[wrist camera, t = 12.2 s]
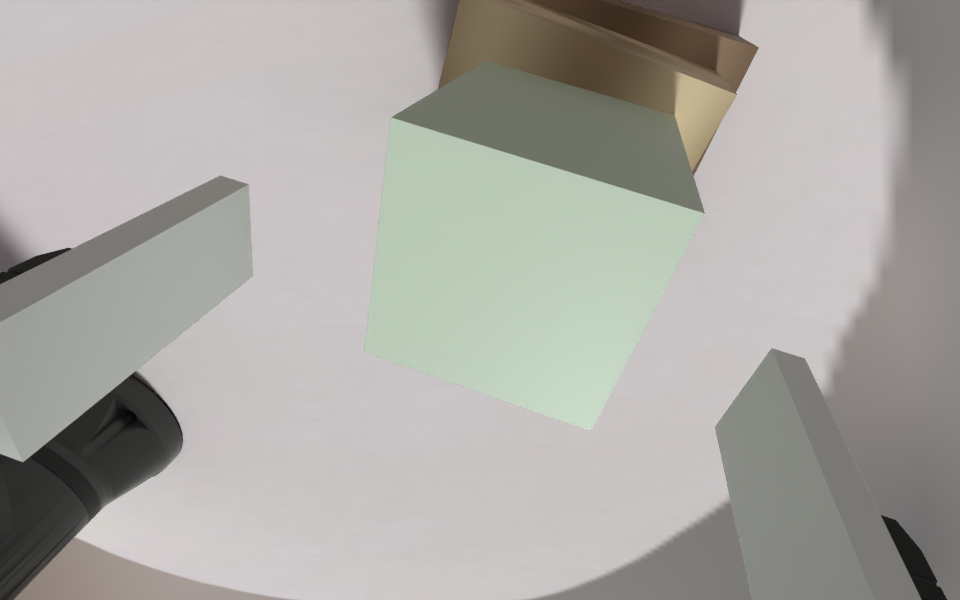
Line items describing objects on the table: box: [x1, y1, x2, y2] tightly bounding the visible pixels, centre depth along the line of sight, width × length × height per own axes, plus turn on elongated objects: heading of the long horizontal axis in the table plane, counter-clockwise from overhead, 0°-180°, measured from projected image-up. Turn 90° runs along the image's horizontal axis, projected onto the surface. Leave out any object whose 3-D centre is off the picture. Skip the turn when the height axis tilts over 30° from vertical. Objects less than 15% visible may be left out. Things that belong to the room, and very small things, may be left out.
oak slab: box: [438, 0, 737, 171], centre depth 22 cm, size 10×10×5 cm
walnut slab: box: [532, 0, 758, 176], centre depth 26 cm, size 12×12×5 cm
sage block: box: [364, 61, 705, 431], centre depth 17 cm, size 7×7×9 cm
